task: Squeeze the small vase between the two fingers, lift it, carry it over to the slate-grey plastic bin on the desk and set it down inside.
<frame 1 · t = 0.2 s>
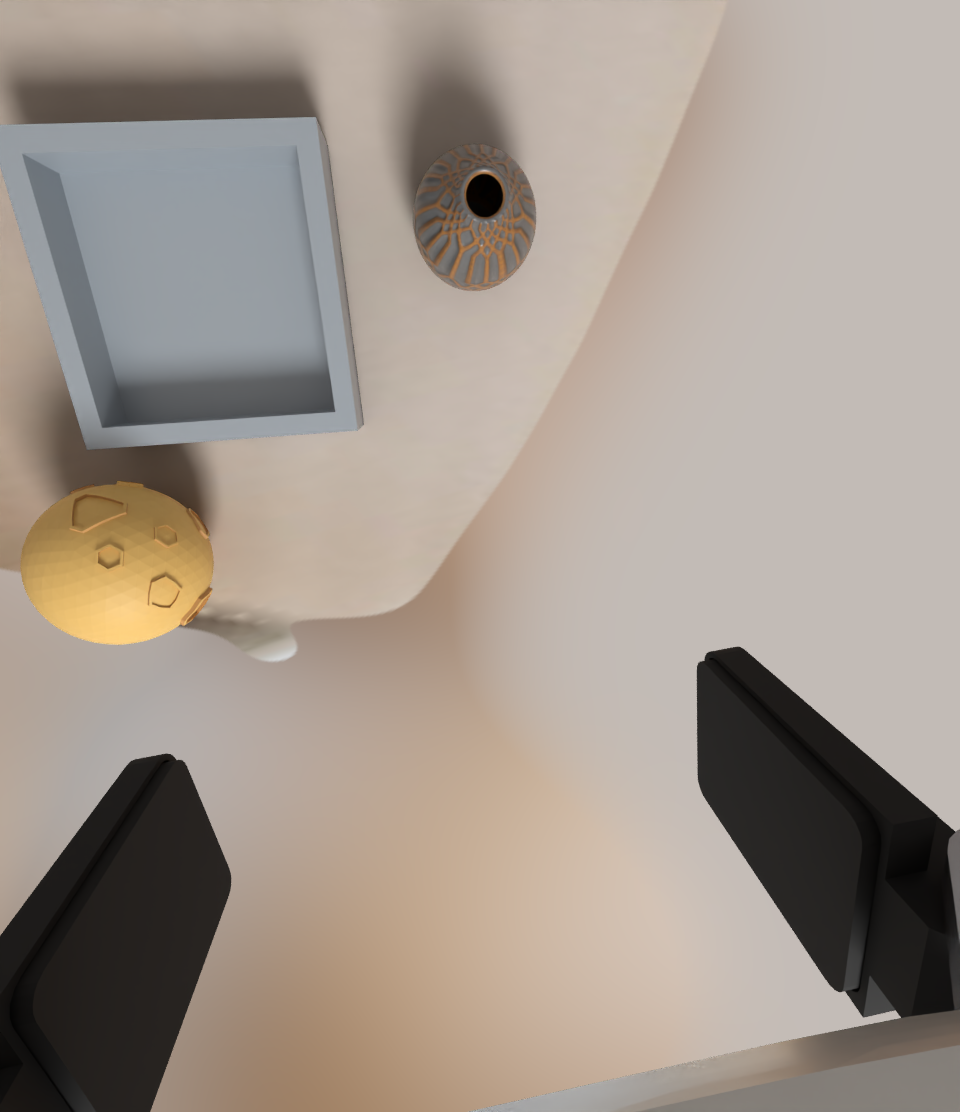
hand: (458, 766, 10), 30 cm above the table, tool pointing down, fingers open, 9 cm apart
bin: (217, 302, 33), on the table
vase: (468, 237, 34), on the table
stress ball: (164, 539, 38), on the table
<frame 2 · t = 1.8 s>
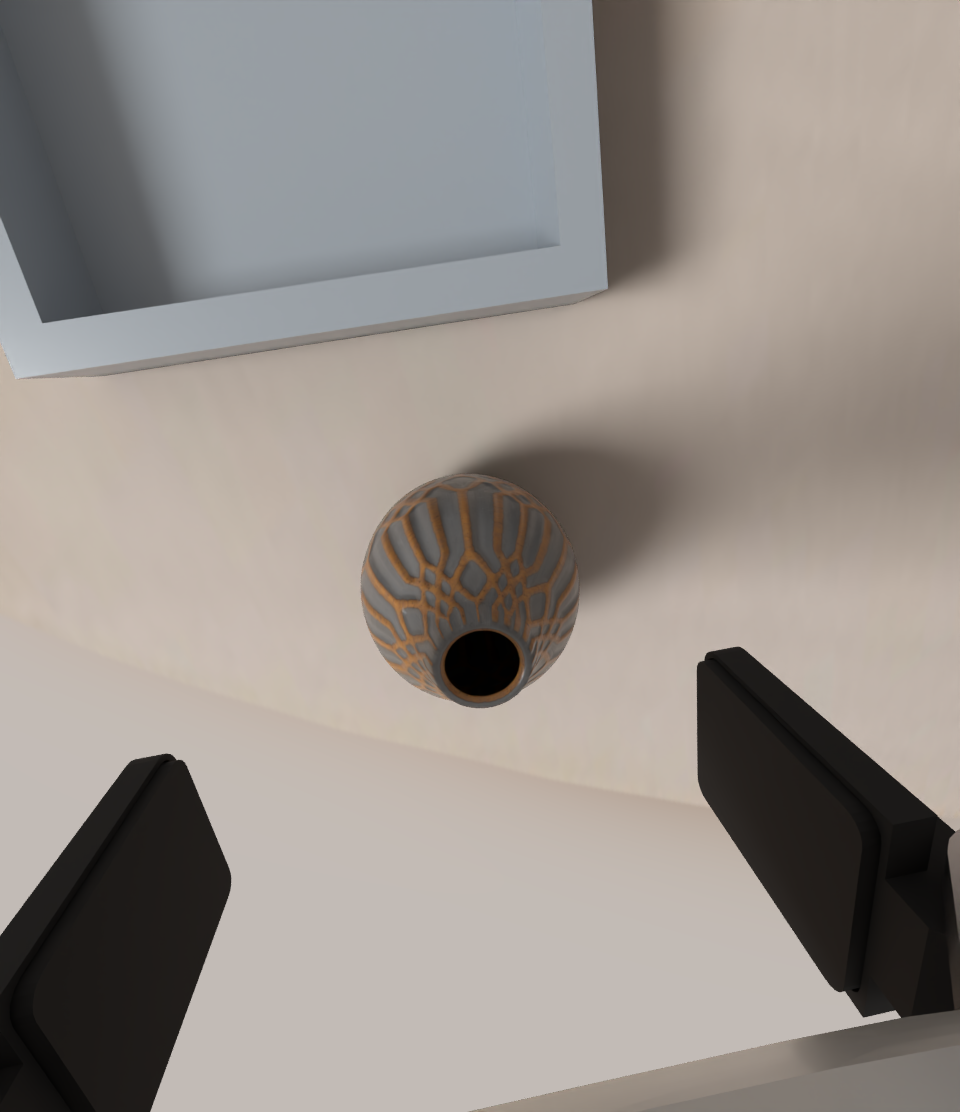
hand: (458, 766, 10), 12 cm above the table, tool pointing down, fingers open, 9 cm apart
bin: (274, 39, 15), on the table
vase: (464, 546, 21), on the table
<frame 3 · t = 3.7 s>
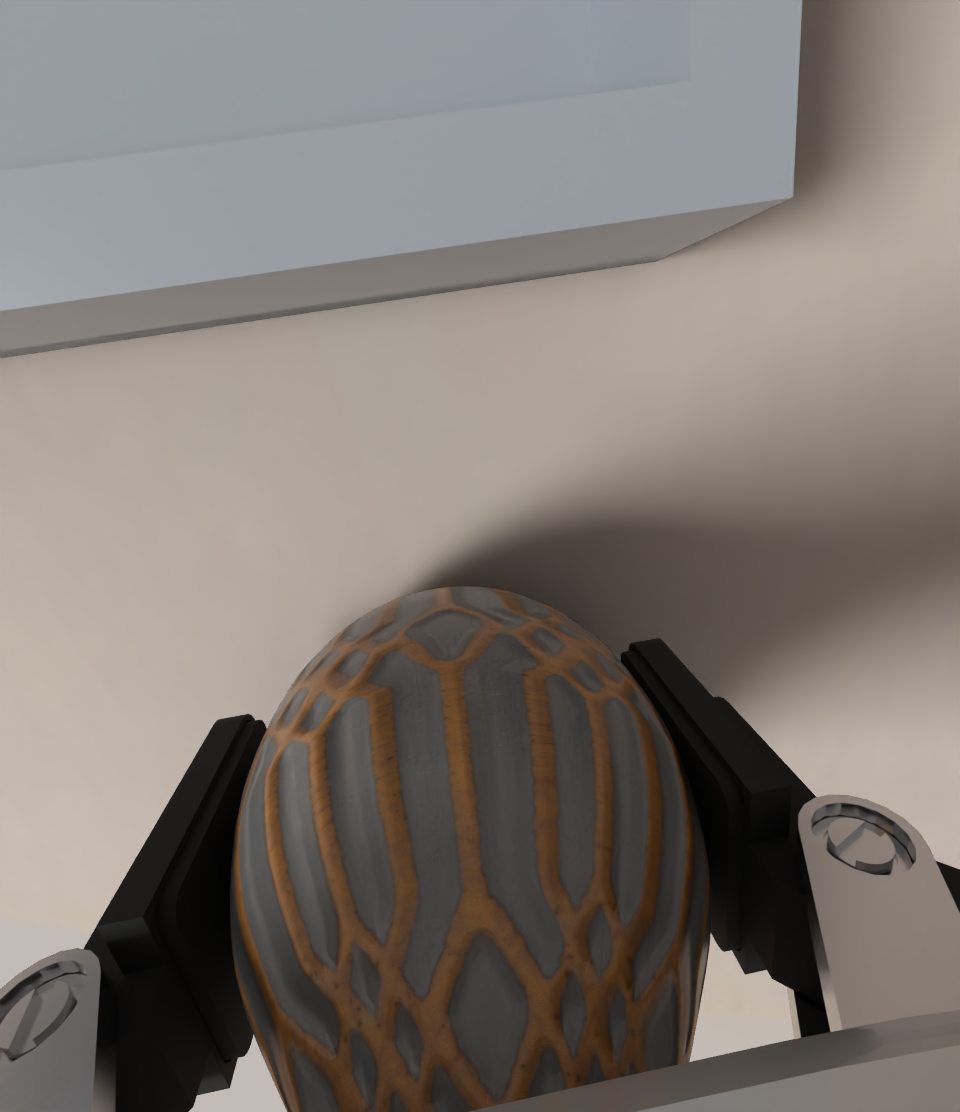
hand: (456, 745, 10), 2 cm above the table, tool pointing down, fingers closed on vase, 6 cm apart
vase: (454, 681, 12), on the table, touching gripper
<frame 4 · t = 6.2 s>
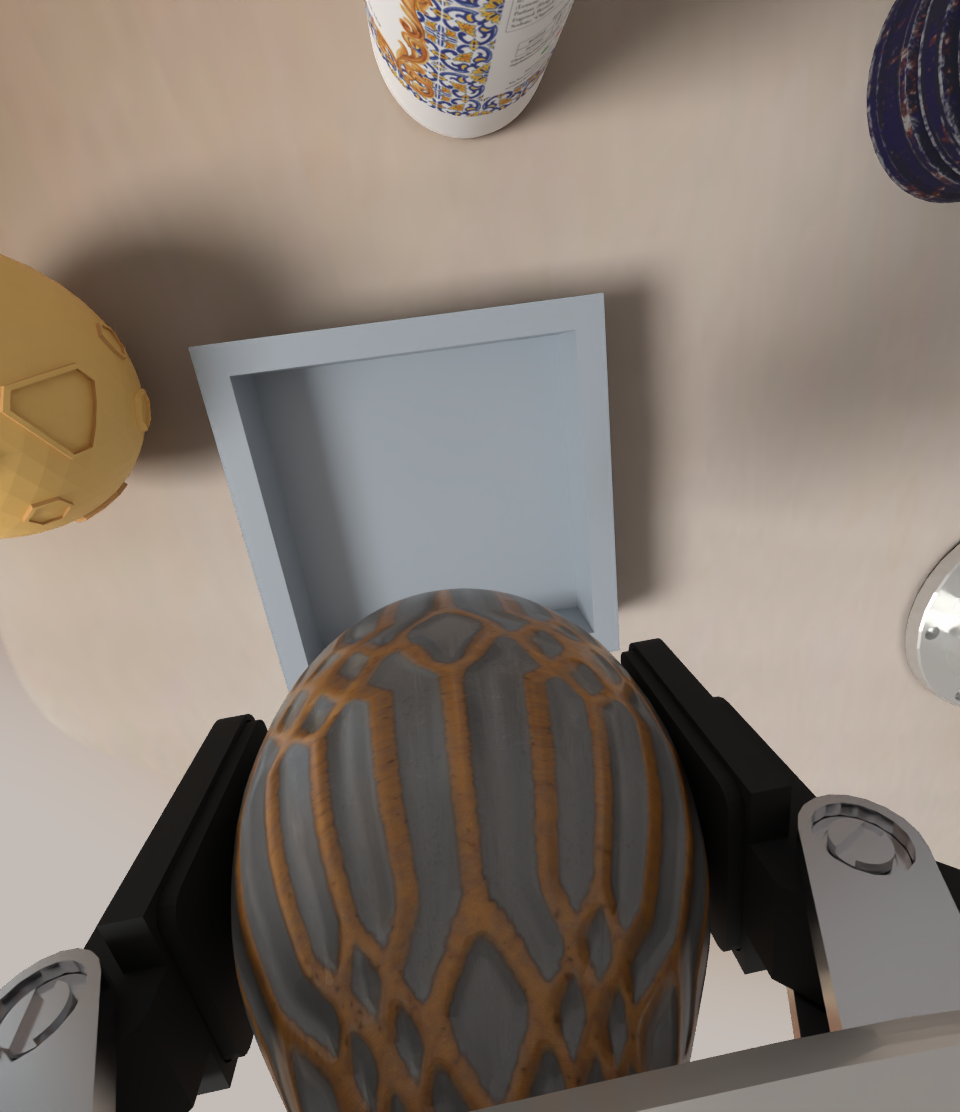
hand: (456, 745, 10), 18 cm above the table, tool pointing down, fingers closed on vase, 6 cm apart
bin: (431, 499, 27), on the table
bath foam: (459, 41, 21), on the table
vase: (454, 683, 12), point 16 cm above the table, touching gripper
stress ball: (72, 395, 24), on the table
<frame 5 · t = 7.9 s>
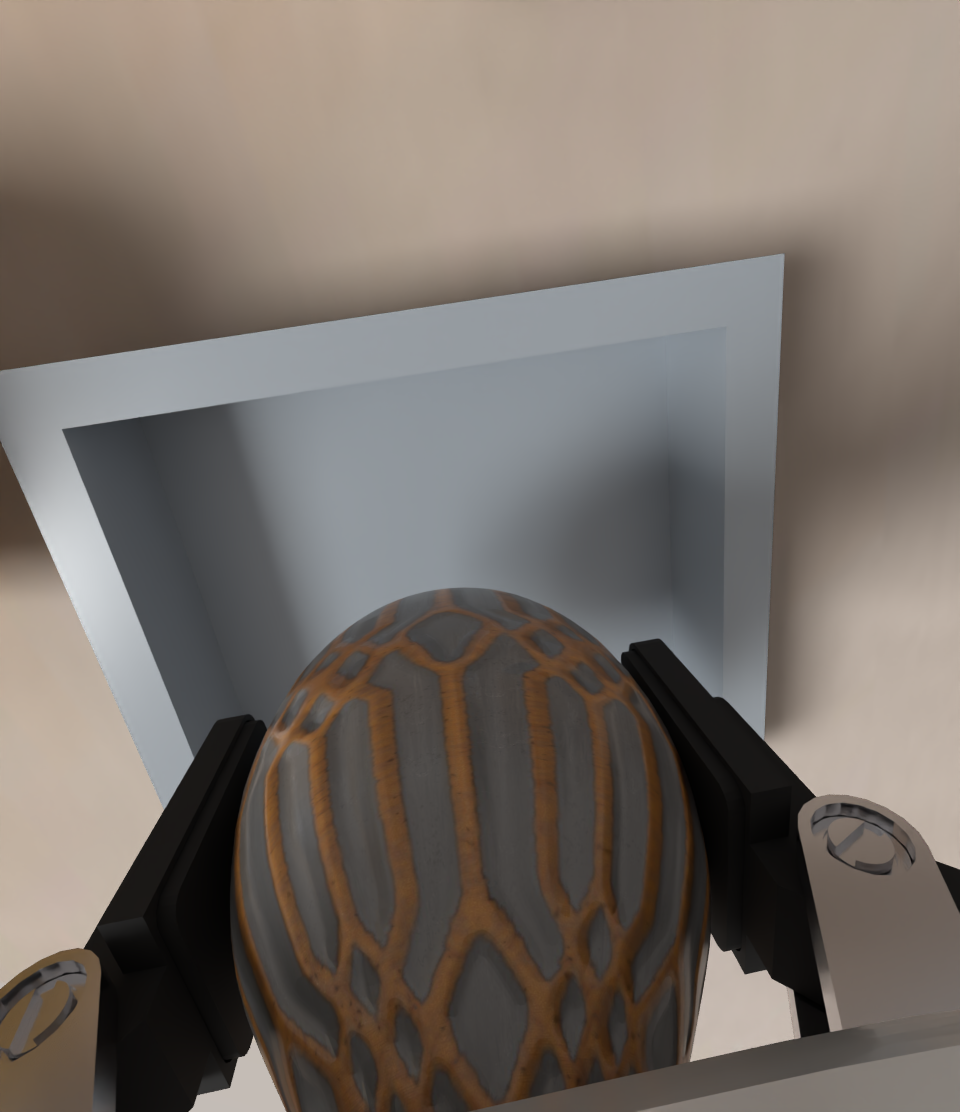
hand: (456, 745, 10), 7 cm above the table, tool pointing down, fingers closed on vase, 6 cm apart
bin: (449, 602, 17), on the table
vase: (454, 682, 12), point 5 cm above the table, touching gripper
when the fingers open (5 cm above the table, at t = 9.2 s): vase drops 2 cm, resting on bin.
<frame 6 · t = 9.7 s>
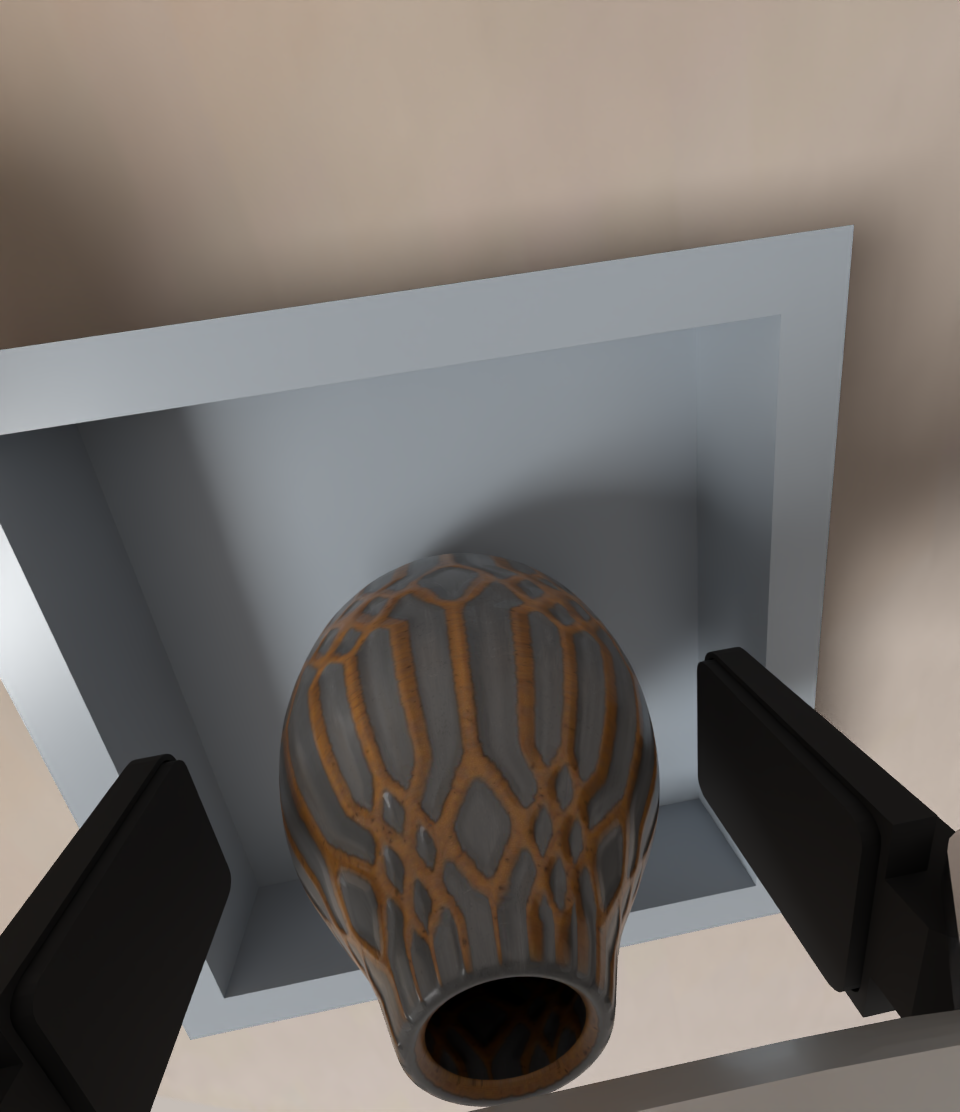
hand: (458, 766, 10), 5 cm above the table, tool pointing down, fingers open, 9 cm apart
bin: (445, 632, 15), on the table
vase: (455, 642, 14), point 1 cm above the table, touching bin
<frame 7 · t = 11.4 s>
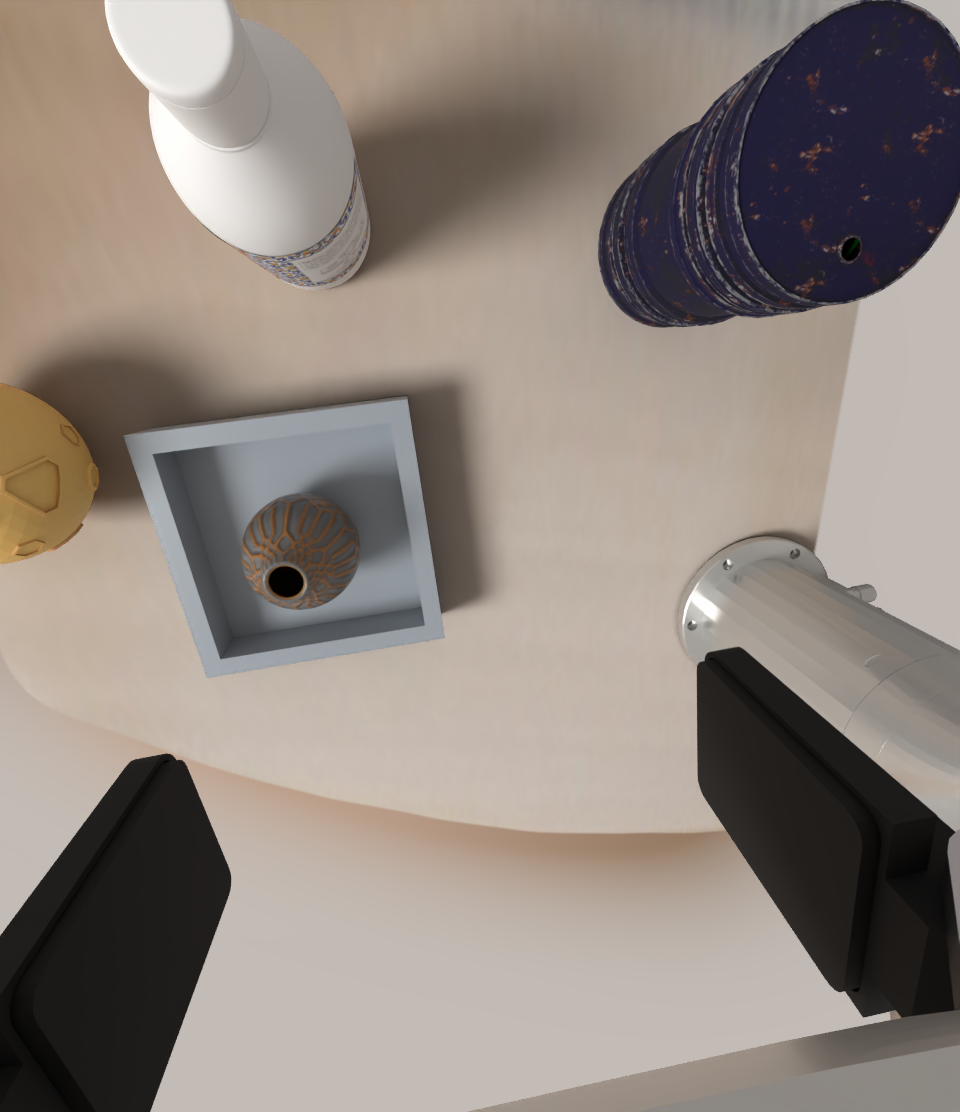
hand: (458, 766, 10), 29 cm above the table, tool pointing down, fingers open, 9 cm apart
bin: (310, 529, 37), on the table
bath foam: (311, 226, 31), on the table
vase: (312, 532, 36), point 1 cm above the table, touching bin
storage jar: (669, 246, 34), on the table
stress ball: (43, 458, 33), on the table
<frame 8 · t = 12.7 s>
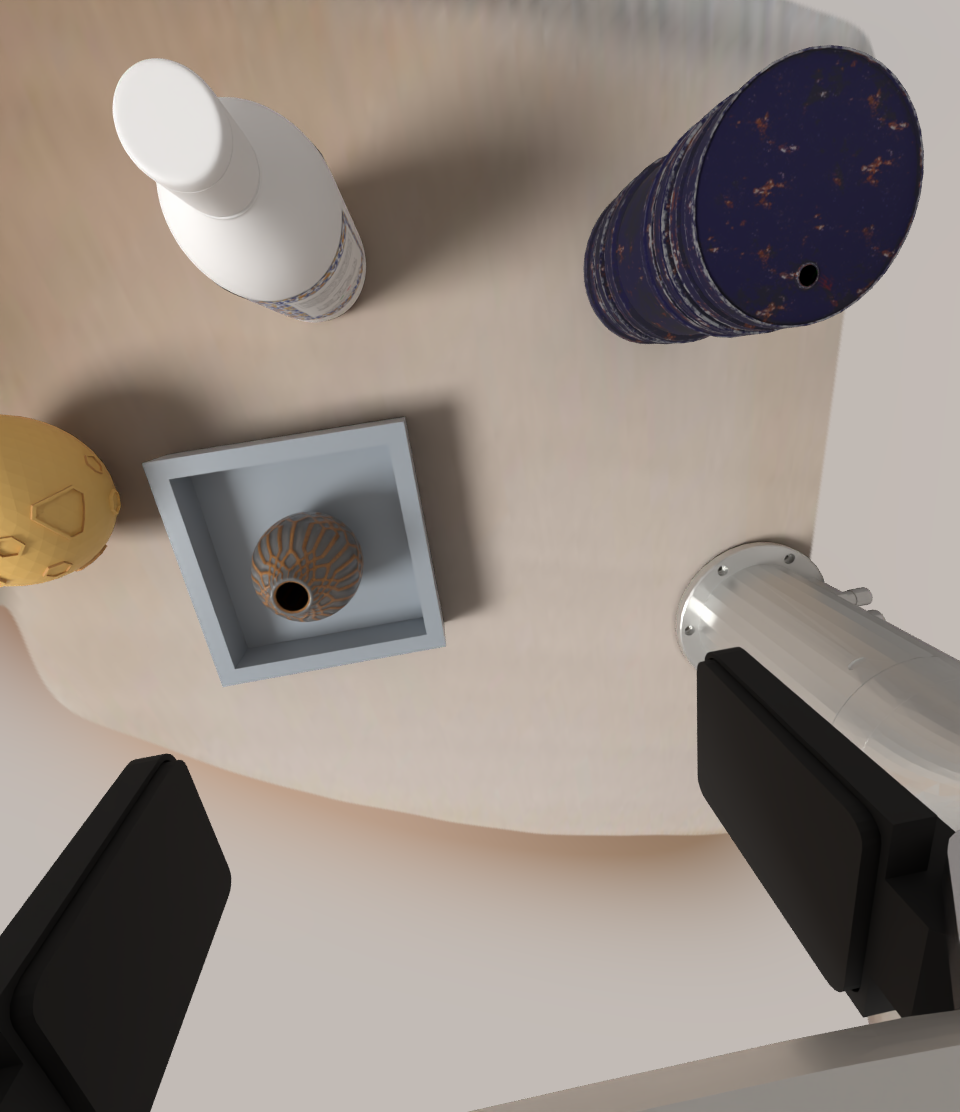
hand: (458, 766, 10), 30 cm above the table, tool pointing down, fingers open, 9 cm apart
bin: (317, 545, 39), on the table
bath foam: (311, 263, 33), on the table
vase: (319, 547, 39), point 1 cm above the table, touching bin
storage jar: (653, 266, 36), on the table
stress ball: (71, 485, 36), on the table
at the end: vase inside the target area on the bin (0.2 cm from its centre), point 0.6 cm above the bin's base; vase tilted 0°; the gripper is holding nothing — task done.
